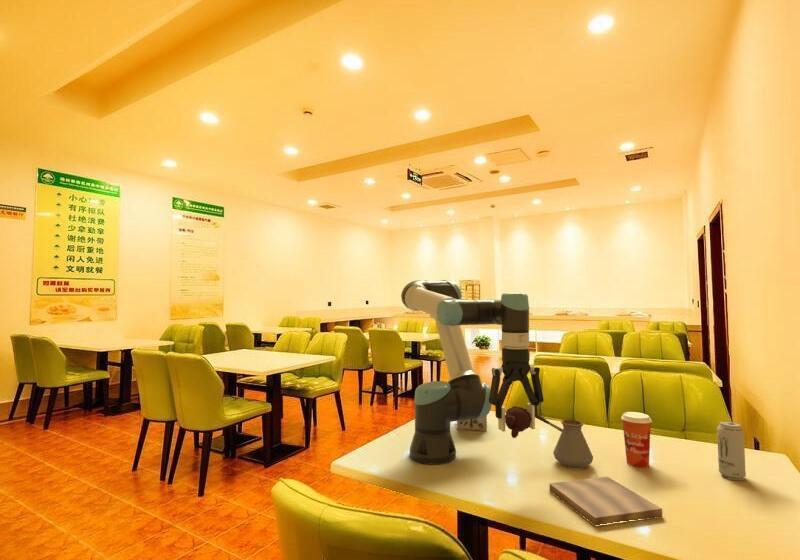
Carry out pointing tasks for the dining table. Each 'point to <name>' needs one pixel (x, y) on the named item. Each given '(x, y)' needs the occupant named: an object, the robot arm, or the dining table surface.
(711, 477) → the dining table surface
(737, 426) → the energy drink can
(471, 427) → the decorative jar
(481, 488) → the dining table surface
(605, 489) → the serving board
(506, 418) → the icecream
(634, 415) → the coffee cup
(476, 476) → the dining table surface
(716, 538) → the dining table surface
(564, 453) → the coffee pot
